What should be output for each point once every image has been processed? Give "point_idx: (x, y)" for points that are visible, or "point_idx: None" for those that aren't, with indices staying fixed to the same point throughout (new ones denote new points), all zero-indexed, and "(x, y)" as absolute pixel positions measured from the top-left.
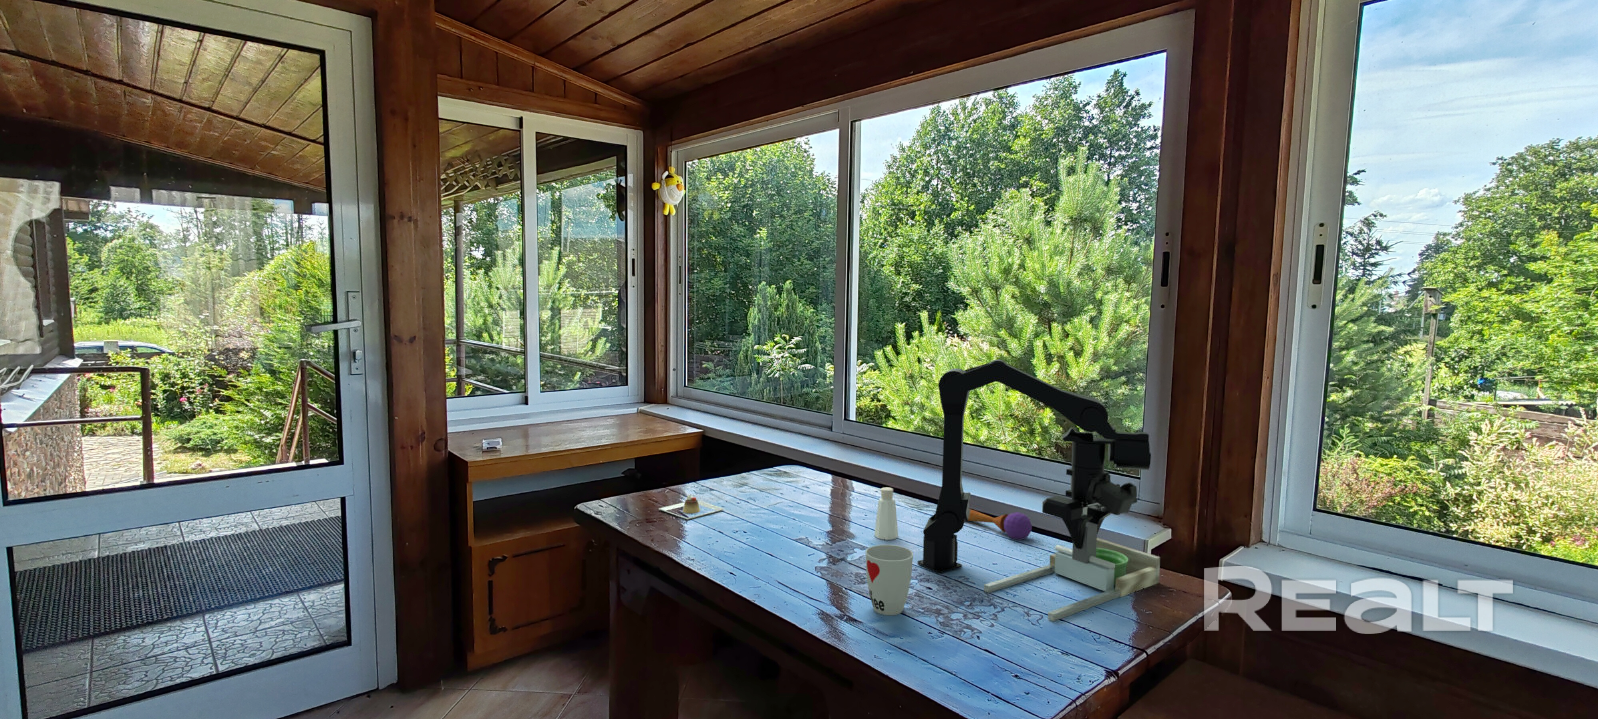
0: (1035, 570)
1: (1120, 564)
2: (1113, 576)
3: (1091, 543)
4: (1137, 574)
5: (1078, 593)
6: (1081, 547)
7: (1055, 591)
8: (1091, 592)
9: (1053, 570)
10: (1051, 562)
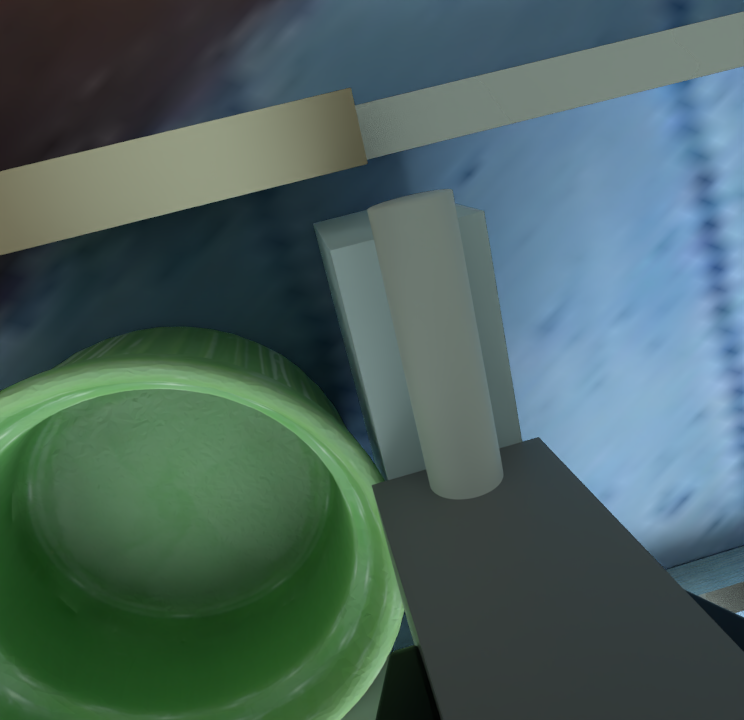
0: None
1: (131, 360)
2: (330, 236)
3: (547, 600)
4: (28, 179)
5: (595, 278)
6: None
7: (708, 356)
8: None
9: None
10: None
